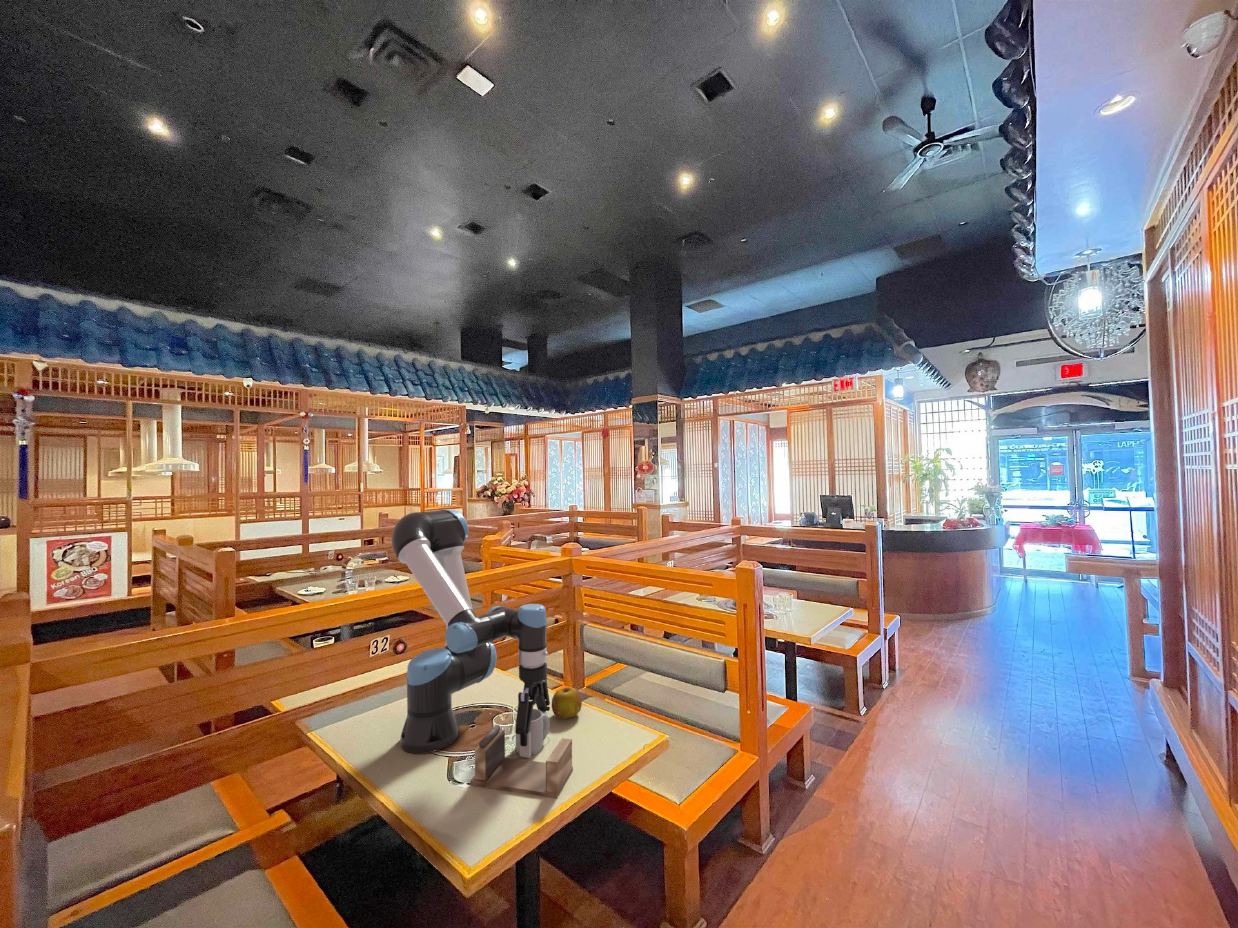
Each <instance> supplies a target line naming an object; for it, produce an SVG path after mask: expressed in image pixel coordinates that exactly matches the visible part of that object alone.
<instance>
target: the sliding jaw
mask: <svg viewBox="0 0 1238 928" xmlns="http://www.w3.org/2000/svg"><path fill="white" fill-rule="evenodd" d="M505 733H506V732H505V729H501V726H500V725H499V724H496V725H494V727H492V728H491V730H489V732H488V733H487V734H485V736H484V737H482V739H481V740H480V741H479V742H478V746H477V747H476V748H475V749H474V776H475V779H478V780H486V779H487V777H488V776H489V775H490V774H491V773H492V771H493V770H494V769H495V768H496V767H497V765H498V764H499V763H500V762H501V761H502V759H503V758H504V757H506V746H505V745H506V741H505V740H506V739H505V738H506V737H505V736H506V734H505Z"/></svg>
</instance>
